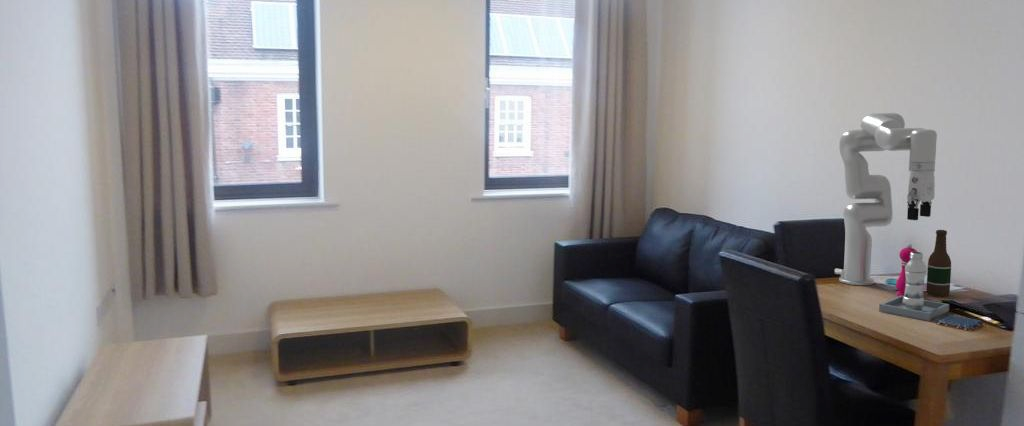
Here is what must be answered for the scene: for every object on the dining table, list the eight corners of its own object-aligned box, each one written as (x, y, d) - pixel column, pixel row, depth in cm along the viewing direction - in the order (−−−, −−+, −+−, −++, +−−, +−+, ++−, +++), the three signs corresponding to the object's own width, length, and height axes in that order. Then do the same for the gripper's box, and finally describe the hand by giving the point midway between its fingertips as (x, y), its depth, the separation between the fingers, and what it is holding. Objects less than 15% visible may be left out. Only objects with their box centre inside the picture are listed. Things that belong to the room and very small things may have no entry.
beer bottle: (945, 298, 263) (949, 233, 259) (922, 294, 269) (925, 230, 265) (953, 294, 268) (957, 230, 264) (930, 290, 274) (933, 227, 270)
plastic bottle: (897, 309, 249) (900, 252, 246) (910, 306, 252) (914, 250, 249) (914, 314, 243) (918, 255, 240) (928, 311, 246) (932, 253, 243)
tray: (879, 311, 250) (879, 304, 249) (899, 302, 260) (899, 295, 259) (929, 321, 237) (929, 313, 237) (948, 311, 247) (949, 304, 247)
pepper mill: (920, 300, 261) (923, 245, 258) (898, 299, 263) (901, 245, 260) (913, 295, 268) (916, 241, 265) (892, 294, 270) (895, 241, 267)
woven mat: (971, 333, 226) (971, 327, 226) (934, 326, 234) (935, 319, 234) (984, 326, 232) (985, 320, 232) (948, 319, 241) (948, 313, 240)
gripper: (922, 169, 233) (919, 222, 236) (944, 165, 244) (941, 216, 246) (898, 168, 239) (895, 220, 241) (920, 164, 250) (917, 213, 252)
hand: (918, 218), depth 244 cm, fingers open, 9 cm apart
